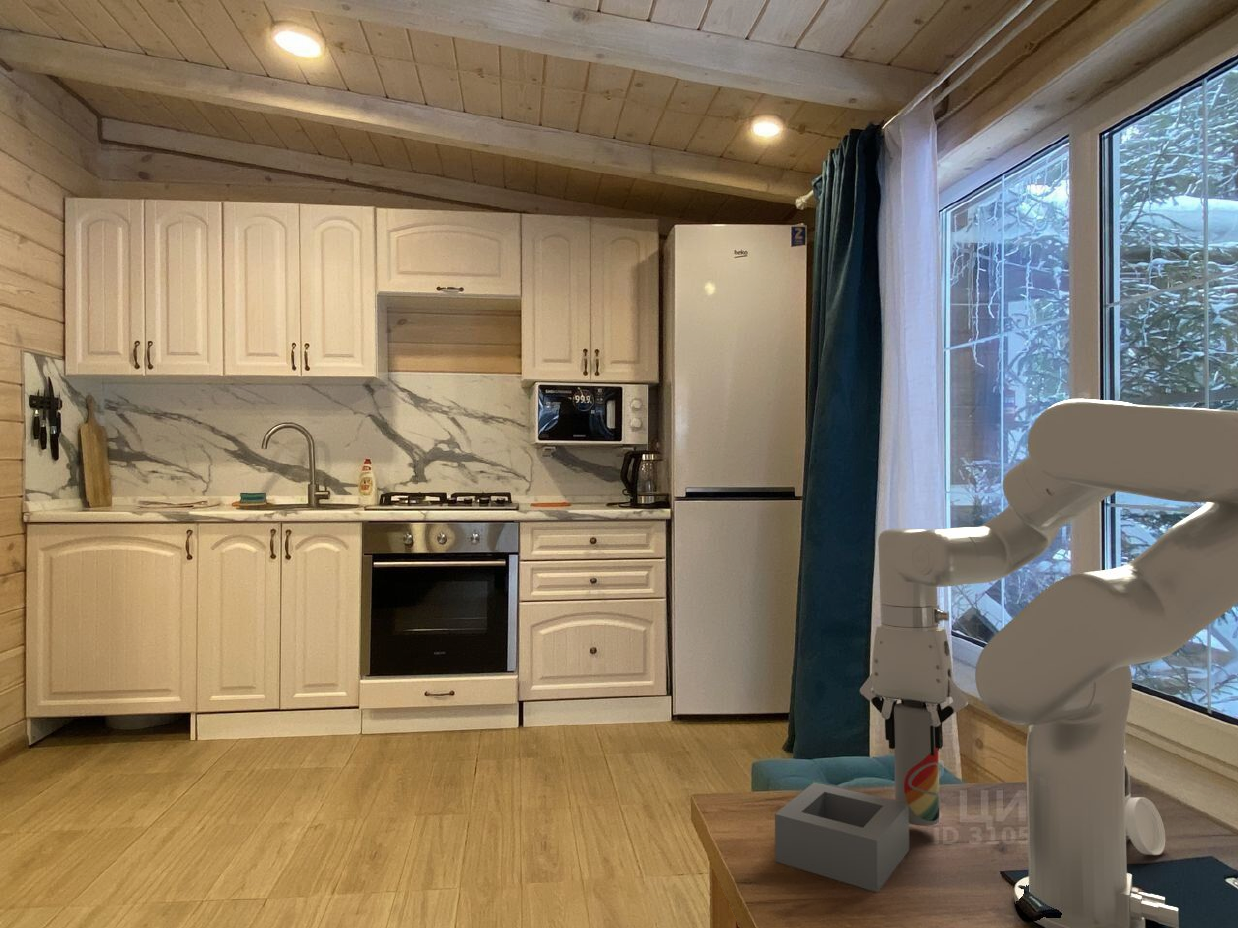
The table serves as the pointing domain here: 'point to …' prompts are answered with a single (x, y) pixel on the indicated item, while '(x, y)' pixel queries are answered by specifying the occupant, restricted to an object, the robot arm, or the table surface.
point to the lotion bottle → (916, 763)
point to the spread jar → (1142, 822)
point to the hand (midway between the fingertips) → (914, 748)
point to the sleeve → (843, 835)
